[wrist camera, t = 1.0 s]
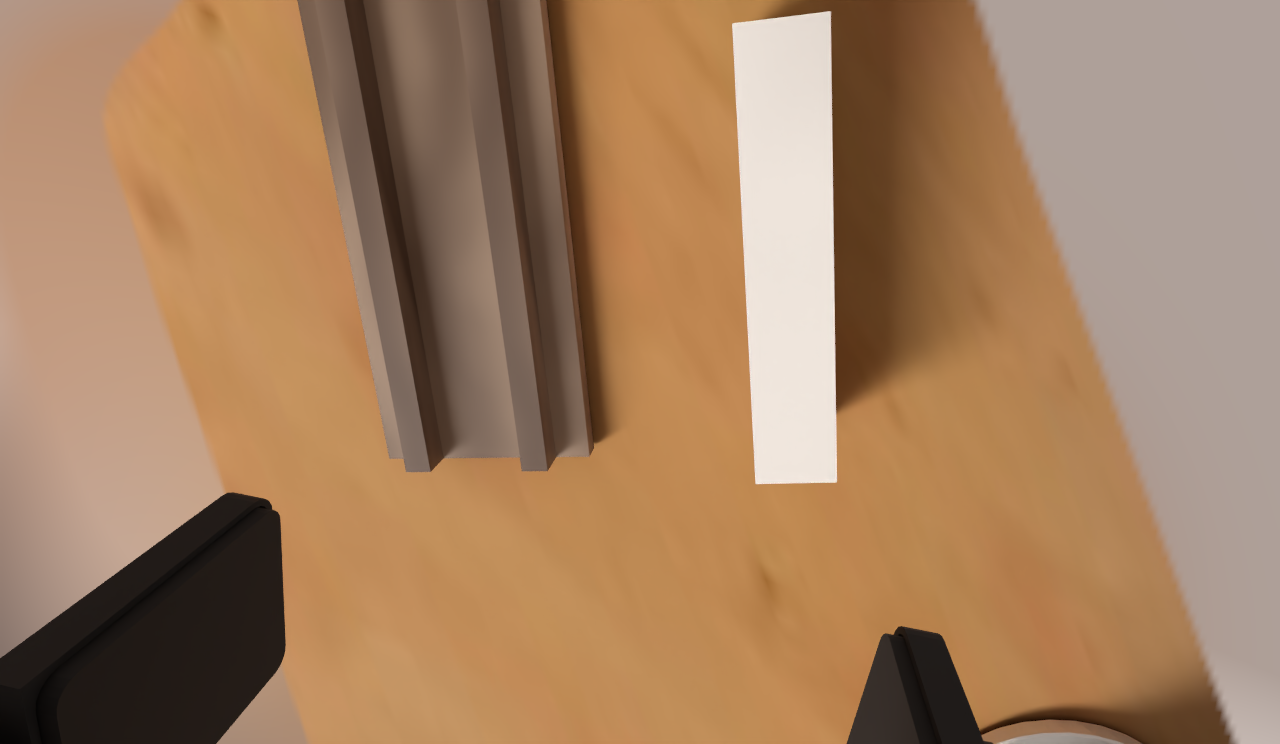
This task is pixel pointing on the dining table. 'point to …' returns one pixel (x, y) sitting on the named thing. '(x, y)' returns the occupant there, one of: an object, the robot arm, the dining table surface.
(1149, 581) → the dining table surface
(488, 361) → the walnut rack
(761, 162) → the white strip
